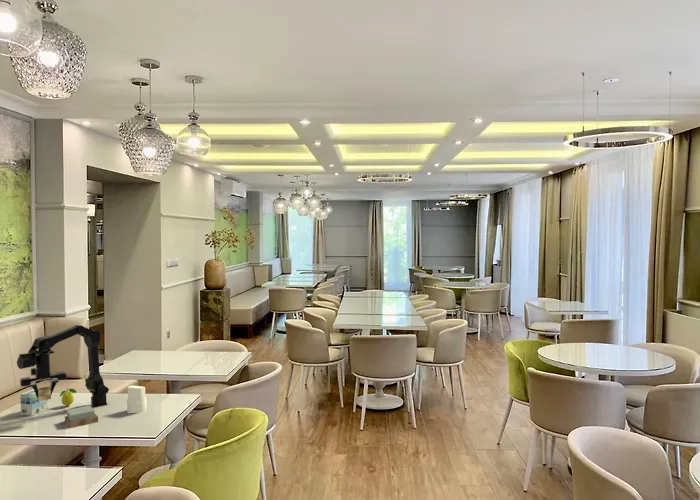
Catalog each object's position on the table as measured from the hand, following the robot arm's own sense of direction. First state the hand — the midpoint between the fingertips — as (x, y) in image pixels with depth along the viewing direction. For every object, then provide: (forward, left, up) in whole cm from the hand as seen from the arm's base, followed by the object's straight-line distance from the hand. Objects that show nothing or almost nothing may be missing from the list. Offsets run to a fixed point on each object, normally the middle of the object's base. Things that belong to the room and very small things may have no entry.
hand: (44, 396), depth 247 cm
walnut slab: (-13, +12, -13) cm, 22 cm away
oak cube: (0, 0, -1) cm, 1 cm away
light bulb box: (+2, -20, -12) cm, 23 cm away
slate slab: (-13, +12, -10) cm, 20 cm away
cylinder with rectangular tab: (-38, +14, -12) cm, 43 cm away
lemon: (-13, -19, -12) cm, 26 cm away
